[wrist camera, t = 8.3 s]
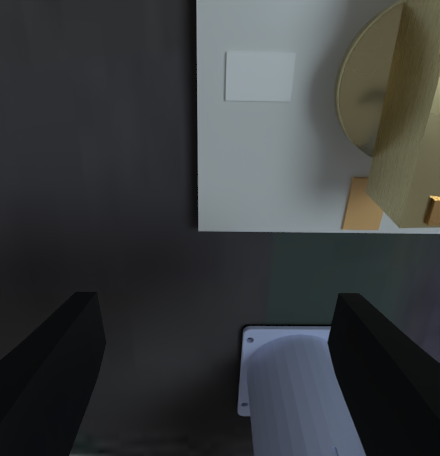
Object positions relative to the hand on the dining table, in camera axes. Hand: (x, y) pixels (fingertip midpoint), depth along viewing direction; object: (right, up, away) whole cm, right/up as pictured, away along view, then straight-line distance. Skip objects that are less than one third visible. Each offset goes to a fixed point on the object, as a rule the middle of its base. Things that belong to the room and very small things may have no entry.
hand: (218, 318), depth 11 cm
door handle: (+8, +9, +4) cm, 13 cm away
